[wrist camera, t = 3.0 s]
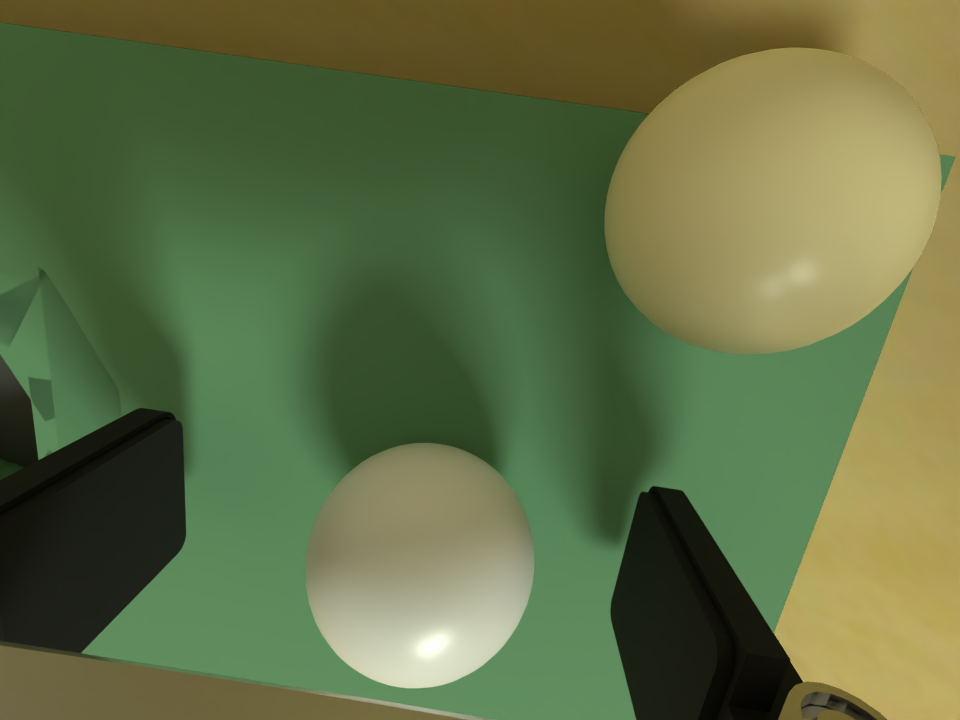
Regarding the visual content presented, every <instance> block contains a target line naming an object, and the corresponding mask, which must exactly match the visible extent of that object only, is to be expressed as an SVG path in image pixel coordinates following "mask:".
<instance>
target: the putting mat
mask: <svg viewBox="0 0 960 720" xmlns="http://www.w3.org/2000/svg"><path fill="white" fill-rule="evenodd" d="M648 115H649V114H647V113H640V112H633V111H626V110H619V109H612V108H604V107H597V106H590V105H583V104H576V103H569V102H562V101H555V100H548V99H540V98H533V97H526V96H519V95H512V94H505V93H498V92H491V91H484V90H477V89H469V88H462V87H455V86H448V85H441V84H434V83H427V82H420V81H413V80H405V79H398V78H391V77H384V76H377V75H370V74H363V73H356V72H349V71H341V70H334V69H327V68H320V67H313V66H306V65H299V64H292V63H285V62H277V61H270V60H263V59H256V58H249V57H242V56H235V55H228V54H221V53H213V52H206V51H199V50H192V49H185V48H178V47H171V46H164V45H157V44H149V43H142V42H135V41H128V40H121V39H114V38H107V37H100V36H93V35H86V34H78V33H71V32H64V31H57V30H50V29H43V28H36V27H29V26H22V25H14V24H7V23H0V480H1V479H3V478H5V477H7V476H9V475H11V474H13V473H15V472H17V471H19V470H21V469H23V468H24V467H26V466H28V465H30V464H32V463H34V462H36V461H38V460H40V459H42V458H44V457H46V456H47V455H49V454H51V453H53V452H55V451H57V450H59V449H61V448H63V447H65V446H67V445H69V444H70V443H72V442H74V441H76V440H78V439H80V438H82V437H84V436H86V435H88V434H90V433H92V432H94V431H95V430H97V429H99V428H101V427H103V426H105V425H107V424H109V423H111V422H113V421H115V420H117V419H118V418H120V417H122V416H124V415H126V414H128V413H130V412H132V411H134V410H136V409H139V408H146V409H153V410H159V411H166V412H171V413H172V414H174V416H175V418H176V420H178V421H180V422H181V424H182V427H183V448H184V479H185V509H186V539H185V542H184V545H183V547H182V549H181V550H180V552H179V553H178V554H177V555H176V556H175V557H174V558H173V559H172V560H171V561H170V562H169V563H168V564H167V565H166V566H165V568H164V569H163V570H162V571H161V572H160V573H159V574H158V575H157V576H156V577H155V578H154V579H153V580H152V581H151V582H150V583H149V584H148V585H147V586H146V587H145V588H144V589H143V590H142V591H141V592H140V593H139V594H138V595H137V596H136V597H135V598H134V599H133V600H132V601H131V602H130V603H129V604H128V605H127V606H126V607H125V608H124V609H123V611H122V612H121V613H120V614H119V615H118V616H117V617H116V618H115V619H114V620H113V621H112V622H111V623H110V624H109V625H108V626H107V627H106V628H105V629H104V630H103V631H102V632H101V633H100V634H99V635H98V636H97V637H96V638H95V639H94V640H93V641H92V642H91V643H90V644H89V645H88V646H87V647H86V648H85V649H84V650H83V651H82V653H83V654H89V655H96V656H103V657H109V658H116V659H122V660H129V661H135V662H142V663H148V664H155V665H161V666H168V667H174V668H181V669H187V670H193V671H200V672H206V673H212V674H219V675H225V676H231V677H237V678H244V679H250V680H256V681H263V682H269V683H275V684H282V685H288V686H294V687H300V688H306V689H313V690H319V691H325V692H331V693H338V694H344V695H350V696H356V697H362V698H369V699H375V700H381V701H387V702H393V703H399V704H405V705H411V706H417V707H423V708H429V709H435V710H441V711H447V712H453V713H459V714H465V715H471V716H477V717H483V718H489V719H495V720H636V717H635V713H634V709H633V705H632V701H631V697H630V693H629V689H628V685H627V681H626V677H625V673H624V669H623V665H622V661H621V658H620V654H619V650H618V646H617V642H616V638H615V634H614V630H613V626H612V622H611V614H610V608H611V600H612V596H613V592H614V588H615V585H616V581H617V577H618V573H619V569H620V565H621V562H622V558H623V554H624V550H625V546H626V543H627V539H628V535H629V531H630V527H631V523H632V520H633V516H634V512H635V508H636V504H637V500H638V497H639V495H640V493H641V492H642V491H643V492H648V491H649V489H650V488H651V487H652V486H657V487H664V488H671V489H677V490H682V491H683V492H684V493H685V494H686V496H687V497H688V499H689V501H690V502H691V504H692V505H693V507H694V509H695V510H696V512H697V513H698V515H699V516H700V518H701V520H702V521H703V523H704V524H705V526H706V527H707V529H708V531H709V532H710V534H711V535H712V537H713V539H714V540H715V542H716V543H717V545H718V546H719V548H720V550H721V551H722V553H723V554H724V556H725V557H726V559H727V561H728V562H729V564H730V565H731V567H732V568H733V570H734V572H735V573H736V575H737V576H738V578H739V580H740V581H741V583H742V584H743V586H744V587H745V589H746V591H747V592H748V594H749V595H750V597H751V598H752V600H753V602H754V603H755V605H756V606H757V608H758V610H759V611H760V613H761V614H762V616H763V617H764V619H765V621H766V622H767V624H768V625H769V627H770V628H771V630H772V632H773V633H774V631H775V628H776V626H777V623H778V620H779V618H780V615H781V613H782V610H783V607H784V605H785V602H786V600H787V597H788V594H789V592H790V589H791V586H792V584H793V581H794V579H795V576H796V573H797V571H798V568H799V565H800V563H801V560H802V558H803V555H804V552H805V550H806V547H807V544H808V542H809V539H810V537H811V534H812V531H813V529H814V526H815V523H816V521H817V518H818V516H819V513H820V510H821V508H822V505H823V502H824V500H825V497H826V495H827V492H828V489H829V487H830V484H831V481H832V479H833V476H834V474H835V471H836V468H837V466H838V463H839V460H840V458H841V455H842V453H843V450H844V447H845V445H846V442H847V439H848V437H849V434H850V432H851V429H852V426H853V424H854V421H855V418H856V416H857V413H858V411H859V408H860V405H861V403H862V400H863V397H864V395H865V392H866V390H867V387H868V384H869V382H870V379H871V376H872V374H873V371H874V369H875V366H876V363H877V361H878V358H879V355H880V353H881V350H882V348H883V345H884V342H885V340H886V337H887V334H888V332H889V329H890V327H891V324H892V321H893V319H894V316H895V313H896V311H897V308H898V306H899V303H900V300H901V298H902V295H903V292H904V290H905V287H906V285H907V282H908V279H909V277H910V274H911V271H912V270H911V271H910V272H909V274H908V275H907V276H906V278H905V279H904V280H903V282H902V283H901V284H900V285H899V286H898V287H897V288H896V289H895V290H894V291H893V292H892V293H891V294H890V295H889V297H887V298H886V299H885V300H884V301H883V302H882V303H881V304H880V305H879V306H877V307H876V308H875V309H874V310H873V311H872V312H870V313H869V314H868V315H866V316H865V317H863V318H862V319H861V320H859V321H858V322H856V323H855V324H853V325H852V326H850V327H848V328H846V329H844V330H842V331H841V332H839V333H837V334H835V335H832V336H830V337H828V338H825V339H823V340H820V341H818V342H815V343H813V344H810V345H807V346H804V347H800V348H797V349H793V350H789V351H783V352H776V353H769V354H756V355H740V354H728V353H721V352H716V351H711V350H707V349H702V348H699V347H696V346H693V345H691V344H688V343H685V342H683V341H681V340H679V339H677V338H675V337H673V336H672V335H670V334H668V333H666V332H664V331H663V330H661V329H660V328H658V327H657V326H656V325H654V324H653V323H651V322H650V321H649V320H648V319H647V318H646V317H645V316H644V315H643V314H642V313H641V312H640V311H639V310H638V309H637V308H636V307H635V306H634V304H633V303H632V302H631V301H630V299H629V298H628V297H627V296H626V294H625V293H624V291H623V289H622V288H621V286H620V284H619V282H618V281H617V278H616V276H615V274H614V271H613V269H612V266H611V263H610V260H609V256H608V252H607V248H606V239H605V231H604V227H605V207H606V199H607V193H608V189H609V186H610V182H611V178H612V175H613V172H614V170H615V167H616V165H617V162H618V160H619V158H620V156H621V154H622V152H623V150H624V148H625V147H626V145H627V143H628V141H629V140H630V138H631V137H632V135H633V134H634V133H635V131H636V130H637V128H638V127H639V126H640V124H641V123H642V122H643V121H644V120H645V119H646V117H647V116H648ZM939 156H940V163H941V175H942V180H941V193H942V190H943V188H944V185H945V182H946V180H947V177H948V174H949V172H950V169H951V167H952V164H953V161H954V159H955V157H953V156H946V155H939ZM912 269H913V268H912ZM412 443H435V444H443V445H448V446H453V447H456V448H459V449H462V450H464V451H467V452H469V453H471V454H473V455H475V456H477V457H479V458H480V459H482V460H483V461H485V462H486V463H488V464H489V465H490V466H492V467H493V468H494V469H495V470H496V471H498V472H499V474H500V475H501V476H502V477H503V478H504V479H505V480H506V481H507V482H508V484H509V485H510V486H511V488H512V489H513V491H514V492H515V493H516V495H517V496H518V498H519V500H520V502H521V504H522V506H523V508H524V511H525V513H526V516H527V518H528V521H529V524H530V528H531V533H532V539H533V544H534V559H535V562H534V577H533V584H532V588H531V593H530V596H529V600H528V603H527V606H526V608H525V611H524V613H523V615H522V617H521V619H520V622H519V624H518V626H517V627H516V629H515V630H514V632H513V633H512V635H511V636H510V638H509V639H508V641H507V642H506V643H505V645H504V646H503V647H502V648H501V649H500V650H499V651H498V652H497V653H496V654H495V655H494V656H493V657H492V658H491V659H490V660H488V661H487V662H486V663H485V664H484V665H483V666H481V667H480V668H478V669H477V670H475V671H474V672H472V673H470V674H468V675H466V676H464V677H462V678H460V679H458V680H456V681H453V682H450V683H447V684H444V685H440V686H435V687H428V688H401V687H395V686H390V685H386V684H383V683H380V682H377V681H375V680H372V679H370V678H368V677H366V676H364V675H363V674H361V673H359V672H358V671H356V670H355V669H353V668H352V667H350V666H349V665H348V664H346V663H345V662H344V661H343V660H342V659H341V658H340V657H339V656H338V655H337V654H336V653H335V652H334V651H333V649H332V648H331V647H330V645H329V644H328V643H327V641H326V640H325V638H324V637H323V635H322V634H321V632H320V630H319V628H318V626H317V624H316V622H315V619H314V617H313V614H312V611H311V608H310V605H309V602H308V596H307V591H306V583H305V560H306V551H307V545H308V541H309V538H310V534H311V531H312V527H313V524H314V521H315V519H316V517H317V515H318V513H319V511H320V509H321V507H322V505H323V503H324V501H325V500H326V498H327V497H328V495H329V494H330V493H331V491H332V490H333V489H334V487H335V486H336V485H337V484H338V483H339V482H340V481H341V480H342V478H343V477H344V476H345V475H346V474H348V473H349V472H350V471H351V470H353V469H354V468H355V467H356V466H358V465H359V464H360V463H361V462H363V461H365V460H366V459H368V458H370V457H371V456H373V455H376V454H378V453H380V452H382V451H385V450H387V449H390V448H393V447H397V446H400V445H405V444H412ZM13 463H14V464H13ZM16 464H17V465H16Z"/></svg>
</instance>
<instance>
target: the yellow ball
mask: <svg viewBox="0 0 960 720" xmlns="http://www.w3.org/2000/svg"><path fill="white" fill-rule="evenodd" d="M941 180H942V175H941V163H940V156H939V152H938V148H937V143H936V140H935V137H934V135H933V132H932V130H931V128H930V125H929V123H928V121H927V119H926V118H925V116H924V114H923V113H922V111H921V109H920V108H919V106H918V104H917V103H916V102H915V100H914V99H913V98H912V97H911V96H910V95H909V93H908V92H907V91H906V90H905V89H904V88H903V87H902V86H901V85H900V84H898V83H897V82H896V81H895V80H894V79H892V78H891V77H890V76H889V75H887V74H885V73H883V72H882V71H880V70H878V69H877V68H875V67H873V66H872V65H870V64H868V63H866V62H864V61H862V60H859V59H857V58H854V57H851V56H849V55H846V54H842V53H837V52H833V51H828V50H822V49H813V48H797V47H792V48H780V49H770V50H765V51H760V52H756V53H751V54H747V55H742V56H739V57H736V58H734V59H731V60H728V61H725V62H723V63H720V64H718V65H716V66H714V67H712V68H710V69H708V70H706V71H705V72H703V73H701V74H699V75H697V76H695V77H693V78H692V79H690V80H689V81H687V82H686V83H684V84H683V85H681V86H680V87H678V88H677V89H675V90H674V91H673V92H672V93H671V94H670V95H669V96H667V97H666V98H665V99H664V100H663V101H662V102H661V103H659V104H658V105H657V106H656V108H655V109H654V110H653V111H652V112H651V113H650V114H649V115H648V116H647V117H646V119H645V120H644V121H643V122H642V123H641V124H640V126H639V127H638V128H637V130H636V131H635V133H634V134H633V135H632V137H631V138H630V140H629V141H628V143H627V145H626V147H625V148H624V150H623V152H622V154H621V156H620V158H619V160H618V162H617V165H616V167H615V170H614V172H613V175H612V178H611V182H610V186H609V189H608V193H607V199H606V207H605V227H604V231H605V239H606V248H607V252H608V256H609V260H610V263H611V266H612V269H613V271H614V274H615V276H616V278H617V281H618V282H619V284H620V286H621V288H622V289H623V291H624V293H625V294H626V296H627V297H628V298H629V299H630V301H631V302H632V303H633V304H634V306H635V307H636V308H637V309H638V310H639V311H640V312H641V313H642V314H643V315H644V316H645V317H646V318H647V319H648V320H649V321H650V322H651V323H653V324H654V325H656V326H657V327H658V328H660V329H661V330H663V331H664V332H666V333H668V334H670V335H672V336H673V337H675V338H677V339H679V340H681V341H683V342H685V343H688V344H691V345H693V346H696V347H699V348H702V349H707V350H711V351H716V352H721V353H728V354H740V355H756V354H769V353H776V352H783V351H789V350H793V349H797V348H800V347H804V346H807V345H810V344H813V343H815V342H818V341H820V340H823V339H825V338H828V337H830V336H832V335H835V334H837V333H839V332H841V331H842V330H844V329H846V328H848V327H850V326H852V325H853V324H855V323H856V322H858V321H859V320H861V319H862V318H863V317H865V316H866V315H868V314H869V313H870V312H872V311H873V310H874V309H875V308H876V307H877V306H879V305H880V304H881V303H882V302H883V301H884V300H885V299H886V298H887V297H889V295H890V294H891V293H892V292H893V291H894V290H895V289H896V288H897V287H898V286H899V285H900V284H901V283H902V282H903V280H904V279H905V278H906V276H907V275H908V274H909V272H910V271H911V270H912V268H913V267H914V265H915V264H916V262H917V260H918V259H919V257H920V255H921V254H922V252H923V250H924V248H925V246H926V244H927V241H928V239H929V237H930V235H931V233H932V229H933V226H934V223H935V220H936V217H937V213H938V208H939V202H940V197H941Z"/></svg>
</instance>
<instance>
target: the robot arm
mask: <svg viewBox="0 0 960 720" xmlns="http://www.w3.org/2000/svg"><path fill="white" fill-rule="evenodd" d="M185 539H186V509H185V479H184V448H183V427H182V424H181V422H180V421H178V420H176V418H175V416H174V414H172V413H171V412H166V411H159V410H153V409H146V408H139V409H136V410H134V411H132V412H130V413H128V414H126V415H124V416H122V417H120V418H118V419H117V420H115V421H113V422H111V423H109V424H107V425H105V426H103V427H101V428H99V429H97V430H95V431H94V432H92V433H90V434H88V435H86V436H84V437H82V438H80V439H78V440H76V441H74V442H72V443H70V444H69V445H67V446H65V447H63V448H61V449H59V450H57V451H55V452H53V453H51V454H49V455H47V456H46V457H44V458H42V459H40V460H38V461H36V462H34V463H32V464H30V465H28V466H26V467H24V468H23V469H21V470H19V471H17V472H15V473H13V474H11V475H9V476H7V477H5V478H3V479H1V480H0V720H495V719H489V718H483V717H477V716H471V715H465V714H459V713H453V712H447V711H441V710H435V709H429V708H423V707H417V706H411V705H405V704H399V703H393V702H387V701H381V700H375V699H369V698H362V697H356V696H350V695H344V694H338V693H331V692H325V691H319V690H313V689H306V688H300V687H294V686H288V685H282V684H275V683H269V682H263V681H256V680H250V679H244V678H237V677H231V676H225V675H219V674H212V673H206V672H200V671H193V670H187V669H181V668H174V667H168V666H161V665H155V664H148V663H142V662H135V661H129V660H122V659H116V658H109V657H103V656H96V655H89V654H83V653H82V651H83V650H84V649H85V648H86V647H87V646H88V645H89V644H90V643H91V642H92V641H93V640H94V639H95V638H96V637H97V636H98V635H99V634H100V633H101V632H102V631H103V630H104V629H105V628H106V627H107V626H108V625H109V624H110V623H111V622H112V621H113V620H114V619H115V618H116V617H117V616H118V615H119V614H120V613H121V612H122V611H123V609H124V608H125V607H126V606H127V605H128V604H129V603H130V602H131V601H132V600H133V599H134V598H135V597H136V596H137V595H138V594H139V593H140V592H141V591H142V590H143V589H144V588H145V587H146V586H147V585H148V584H149V583H150V582H151V581H152V580H153V579H154V578H155V577H156V576H157V575H158V574H159V573H160V572H161V571H162V570H163V569H164V568H165V566H166V565H167V564H168V563H169V562H170V561H171V560H172V559H173V558H174V557H175V556H176V555H177V554H178V553H179V552H180V550H181V549H182V547H183V545H184V542H185ZM610 614H611V622H612V626H613V630H614V634H615V638H616V642H617V646H618V650H619V654H620V658H621V661H622V665H623V669H624V673H625V677H626V681H627V685H628V689H629V693H630V697H631V701H632V705H633V709H634V713H635V717H636V720H887V719H886V718H885V717H884V716H883V715H882V714H881V713H879V712H878V711H877V710H875V709H874V708H872V707H871V706H869V705H868V704H866V703H865V702H864V701H862V700H861V699H859V698H857V697H855V696H853V695H851V694H849V693H847V692H845V691H843V690H841V689H839V688H836V687H833V686H830V685H827V684H824V683H817V682H804V683H803V681H802V680H801V678H800V676H799V675H798V673H797V672H796V670H795V668H794V667H793V665H792V664H791V662H790V658H789V657H788V655H787V654H786V652H785V651H784V649H783V647H782V646H781V644H780V643H779V641H778V640H777V638H776V636H775V635H774V633H773V632H772V630H771V628H770V627H769V625H768V624H767V622H766V621H765V619H764V617H763V616H762V614H761V613H760V611H759V610H758V608H757V606H756V605H755V603H754V602H753V600H752V598H751V597H750V595H749V594H748V592H747V591H746V589H745V587H744V586H743V584H742V583H741V581H740V580H739V578H738V576H737V575H736V573H735V572H734V570H733V568H732V567H731V565H730V564H729V562H728V561H727V559H726V557H725V556H724V554H723V553H722V551H721V550H720V548H719V546H718V545H717V543H716V542H715V540H714V539H713V537H712V535H711V534H710V532H709V531H708V529H707V527H706V526H705V524H704V523H703V521H702V520H701V518H700V516H699V515H698V513H697V512H696V510H695V509H694V507H693V505H692V504H691V502H690V501H689V499H688V497H687V496H686V494H685V493H684V492H683V491H682V490H677V489H671V488H664V487H657V486H652V487H651V488H650V489H649V491H648V492H643V491H642V492H641V493H640V495H639V497H638V500H637V504H636V508H635V512H634V516H633V520H632V523H631V527H630V531H629V535H628V539H627V543H626V546H625V550H624V554H623V558H622V562H621V565H620V569H619V573H618V577H617V581H616V585H615V588H614V592H613V596H612V600H611V608H610Z"/></svg>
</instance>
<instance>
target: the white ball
mask: <svg viewBox="0 0 960 720" xmlns="http://www.w3.org/2000/svg"><path fill="white" fill-rule="evenodd" d="M534 562H535V559H534V544H533V539H532V533H531V528H530V524H529V521H528V518H527V516H526V513H525V511H524V508H523V506H522V504H521V502H520V500H519V498H518V496H517V495H516V493H515V492H514V491H513V489H512V488H511V486H510V485H509V484H508V482H507V481H506V480H505V479H504V478H503V477H502V476H501V475H500V474H499V472H498V471H496V470H495V469H494V468H493V467H492V466H490V465H489V464H488V463H486V462H485V461H483V460H482V459H480V458H479V457H477V456H475V455H473V454H471V453H469V452H467V451H464V450H462V449H459V448H456V447H453V446H448V445H443V444H435V443H412V444H405V445H400V446H397V447H393V448H390V449H387V450H385V451H382V452H380V453H378V454H376V455H373V456H371V457H370V458H368V459H366V460H365V461H363V462H361V463H360V464H359V465H358V466H356V467H355V468H354V469H353V470H351V471H350V472H349V473H348V474H346V475H345V476H344V477H343V478H342V480H341V481H340V482H339V483H338V484H337V485H336V486H335V487H334V489H333V490H332V491H331V493H330V494H329V495H328V497H327V498H326V500H325V501H324V503H323V505H322V507H321V509H320V511H319V513H318V515H317V517H316V519H315V521H314V524H313V527H312V531H311V534H310V538H309V541H308V545H307V551H306V560H305V583H306V591H307V596H308V602H309V605H310V608H311V611H312V614H313V617H314V619H315V622H316V624H317V626H318V628H319V630H320V632H321V634H322V635H323V637H324V638H325V640H326V641H327V643H328V644H329V645H330V647H331V648H332V649H333V651H334V652H335V653H336V654H337V655H338V656H339V657H340V658H341V659H342V660H343V661H344V662H345V663H346V664H348V665H349V666H350V667H352V668H353V669H355V670H356V671H358V672H359V673H361V674H363V675H364V676H366V677H368V678H370V679H372V680H375V681H377V682H380V683H383V684H386V685H390V686H395V687H401V688H428V687H435V686H440V685H444V684H447V683H450V682H453V681H456V680H458V679H460V678H462V677H464V676H466V675H468V674H470V673H472V672H474V671H475V670H477V669H478V668H480V667H481V666H483V665H484V664H485V663H486V662H487V661H488V660H490V659H491V658H492V657H493V656H494V655H495V654H496V653H497V652H498V651H499V650H500V649H501V648H502V647H503V646H504V645H505V643H506V642H507V641H508V639H509V638H510V636H511V635H512V633H513V632H514V630H515V629H516V627H517V626H518V624H519V622H520V619H521V617H522V615H523V613H524V611H525V608H526V606H527V603H528V600H529V596H530V593H531V588H532V584H533V577H534Z"/></svg>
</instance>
